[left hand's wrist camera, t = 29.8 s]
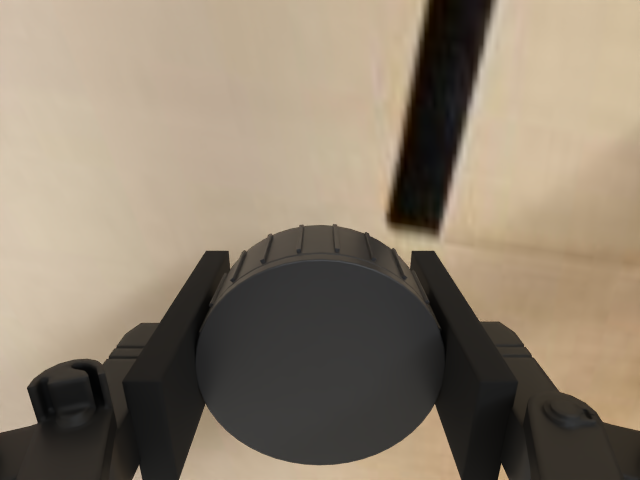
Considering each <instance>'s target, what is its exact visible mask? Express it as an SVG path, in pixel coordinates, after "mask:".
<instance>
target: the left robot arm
mask: <svg viewBox="0 0 640 480" xmlns="http://www.w3.org/2000/svg"><path fill="white" fill-rule="evenodd" d="M410 270H411V271H412V270H414V271H415V273H416V275H417V277H418V279H419V281H420V283H421V285H422V287H423V290H424V292H425V294H426V296H427V298H428V300H429V302H430V303H429V304H430V306H431V308H432V310H433V313H434V315H435V317H436V319H437V321H438V323H439V325H440V327H441V330H442V332H441V336H442V340H443V343H444V349H445V368H444V376H443V383H442V388H441V391H440V393H439V396H438V398H437V401H436V402H435V405H436V408H437V411H438V414H439V417H440V420H441V423H442V425H443V428H444V431H445V434H446V437H447V440H448V443H449V446H450V448H451V451H452V454H453V457H454V460H455V463H456V466H457V469H458V471H459V474H460V477H461V480H498V476H499V471H500V466H501V463H502V465H503V468H504V470H505V472H506V474H507V476H508V478H509V480H640V431H637V430H633V429H628V428H624V427H619V426H615V425H611V424H608V423H604V422H602V420H601V419H600V417H599V416H598V414H597V413H596V412H595V411H594V410H593V409H592V408H591V407H589V406H588V405H587V404H586V403H584V402H583V401H581V400H579V399H577V398H575V397H573V396H571V395H567V394H564V393H561V392H559V391H558V389H557V388H556V387H555V385H554V384H553V383H552V381H551V380H550V379H549V377H548V376H547V375H546V373H545V372H544V371H543V369H542V368H541V367H540V365H539V364H538V363H537V361H536V360H535V359H534V358H532V355H531V353H530V352H529V351H528V349H527V348H526V347H524V344H523V343H522V341H521V340H520V339H519V337H518V336H517V335H516V333H515V332H513V331H512V330H510V329H509V328H508V327H506V326H505V325H503V324H502V323H500V322H480V321H479V320H478V318H477V317H476V315H475V314H474V312H473V311H472V309H471V307H470V306H469V304H468V303H467V301H466V300H465V298H464V297H463V295H462V293H461V292H460V290H459V289H458V287H457V286H456V284H455V283H454V281H453V280H452V278H451V276H450V275H449V273H448V272H447V270H446V269H445V267H444V266H443V264H442V262H441V261H440V259H439V258H438V256H437V255H436V253H435V252H434V251H412V254H411V266H410ZM229 271H230V263H229V251H206V252H205V254H204V255H203V257H202V258H201V260H200V261H199V263H198V264H197V266H196V268H195V269H194V271H193V272H192V274H191V275H190V277H189V278H188V280H187V281H186V283H185V285H184V286H183V288H182V289H181V291H180V292H179V294H178V295H177V297H176V299H175V300H174V302H173V303H172V305H171V306H170V308H169V309H168V311H167V313H166V314H165V316H164V317H163V319H162V320H161V322H160V323H141V324H139V325H138V326H136V327H135V328H133V329H132V330H130V331H129V332H128V333H126V334H125V336H124V337H123V338H122V340H121V341H120V342H119V344H118V345H117V348H116V349H114V350H113V352H112V353H111V354H110V356H109V359H107V360H106V361H105V362H104V364H103V365H102V364H101V363H100V362H98V361H96V360H91V359H77V360H71V361H67V362H64V363H60V364H58V365H55V366H53V367H51V368H49V369H47V370H45V371H44V372H42V373H41V374H40V375H38V376H37V377H36V378H34V379H33V381H32V382H31V383H30V385H29V386H28V387H27V390H28V393H29V396H30V399H31V402H32V406H33V409H34V412H35V415H36V418H37V421H38V423H37V424H35V425H32V426H28V427H24V428H20V429H15V430H11V431H7V432H2V433H0V480H132V479H133V477H134V474H135V472H136V470H137V468H138V466H139V465H140V470H141V475H142V479H143V480H179V478H180V475H181V472H182V469H183V466H184V464H185V461H186V458H187V455H188V452H189V449H190V446H191V443H192V441H193V438H194V435H195V432H196V429H197V426H198V423H199V420H200V418H201V415H202V412H203V409H204V406H205V401H204V399H203V397H202V395H201V392H200V389H199V386H198V381H197V374H196V366H195V353H196V345H197V341H198V338H199V335H198V333H199V330H200V328H201V326H202V324H203V322H204V319H205V317H206V315H207V313H208V311H209V309H210V306H209V304H210V302H211V300H212V298H213V296H214V294H215V292H216V290H217V288H218V286H219V283H220V281H221V279H222V277H223V275H224V273H227V274H228V272H229Z"/></svg>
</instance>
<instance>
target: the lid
mask: <svg viewBox="0 0 640 480" xmlns="http://www.w3.org/2000/svg"><path fill="white" fill-rule="evenodd" d="M429 303H430V302H429V300H428V298H427V296H426V294H425V292H424V290H423V287H422V285H421V283H420V281H419V279H418V277H417V275H416V273H415V271H414V270H412V271H411V270H410V269H409V267H408V266H407V265H406V263H405V262H404V261H403V260H402V259H401V258H400V257H399V256H398V254H397V252H396V250H395V249H394V248H393V249H392V250H391V249H390V248H389V247H388V246H386V245H385V244H383V243H381V242H380V241H378V240H377V239H375V238H373V237H370V236H369V233H367V232H365V234H364V233H361V232H358V231H355V230H352V229H348V228H343V227H338V226H337V225H336V224H333V226H326V225H315V226H304V225H300V226H299V227H298V228H292V229H289V230H286V231H282V232H279V233H276V234H274V235H272V234H269V235H268V237H267V238H266V239H264V240H262V241H261V242H259V243H257V244H256V245H254V246H253V247H251V248H250V249H249V250H248V251H247V252H246V251H245V250H244V251H243V252H242V254H241V256H240V258H239V259H238V261H237V262H236V263H235V264H234V265H233V266H232V268H231V269H230V271H229V272H228V274H227V273H224V275H223V277H222V279H221V281H220V283H219V286H218V288H217V290H216V292H215V294H214V296H213V298H212V300H211V302H210V304H209V306H210V309H209V311H208V313H207V315H206V317H205V319H204V322H203V324H202V326H201V328H200V330H199V333H198V335H199V338H198V341H197V345H196V353H195V366H196V374H197V381H198V386H199V389H200V392H201V395H202V397H203V399H204V401H205V403H206V405H207V407H208V409H209V410H210V412H211V413H212V414H213V416H214V417H215V418H216V420H217V421H218V422H219V423H220V424H221V425H222V426H223V427H224V428H225V429H226V431H228V432H229V433H230V434H231V435H233V436H234V437H235V438H236V439H237V440H239V441H241V442H242V443H244V444H245V445H247V446H248V447H250V448H252V449H254V450H256V451H258V452H260V453H262V454H265V455H268V456H270V457H273V458H276V459H280V460H284V461H287V462H292V463H299V464H306V465H335V464H342V463H349V462H353V461H357V460H361V459H364V458H367V457H370V456H373V455H376V454H378V453H380V452H382V451H384V450H386V449H389V448H390V447H392V446H394V445H395V444H397V443H399V442H400V441H402V440H403V439H404V438H405V437H407V436H408V435H409V434H411V433H412V432H413V431H414V430H415V429H416V428H417V427H418V426H419V425H420V424H421V423H422V422H423V420H424V419H425V418H426V416H427V415H428V414H429V413H430V411H431V409H432V408H433V406H434V404H435V402H436V401H437V398H438V396H439V393H440V391H441V388H442V383H443V376H444V368H445V349H444V343H443V340H442V336H441V332H442V330H441V327H440V325H439V323H438V321H437V319H436V317H435V315H434V313H433V310H432V308H431V306H430V304H429Z"/></svg>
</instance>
